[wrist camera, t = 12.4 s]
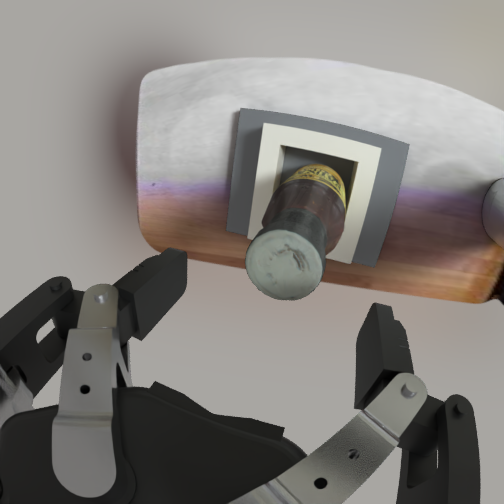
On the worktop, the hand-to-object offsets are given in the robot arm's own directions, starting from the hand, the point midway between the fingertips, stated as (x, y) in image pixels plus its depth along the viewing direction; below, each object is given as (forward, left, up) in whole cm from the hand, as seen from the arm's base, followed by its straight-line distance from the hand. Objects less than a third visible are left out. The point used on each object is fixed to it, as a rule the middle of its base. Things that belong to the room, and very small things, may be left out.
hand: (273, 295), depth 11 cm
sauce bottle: (0, 0, -23) cm, 23 cm away
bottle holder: (0, 0, -24) cm, 24 cm away
